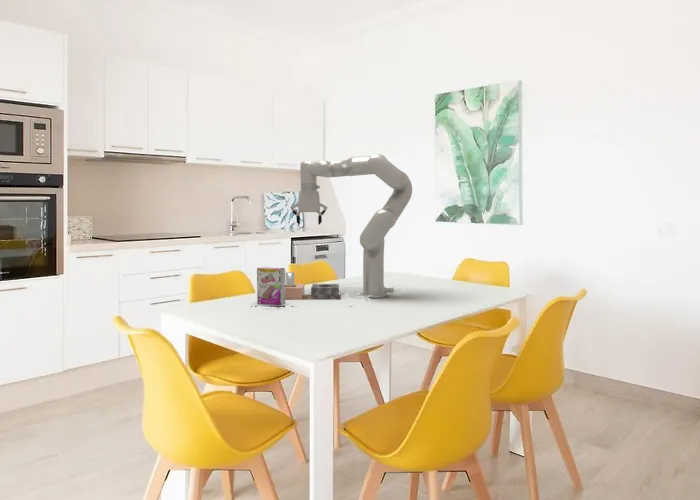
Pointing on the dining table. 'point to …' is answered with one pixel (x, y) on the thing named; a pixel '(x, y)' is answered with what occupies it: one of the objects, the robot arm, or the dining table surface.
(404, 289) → the dining table surface
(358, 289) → the dining table surface
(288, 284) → the pin
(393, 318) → the dining table surface
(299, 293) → the socket block
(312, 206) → the robot arm
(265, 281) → the candy bar box
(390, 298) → the dining table surface
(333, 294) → the mount board
